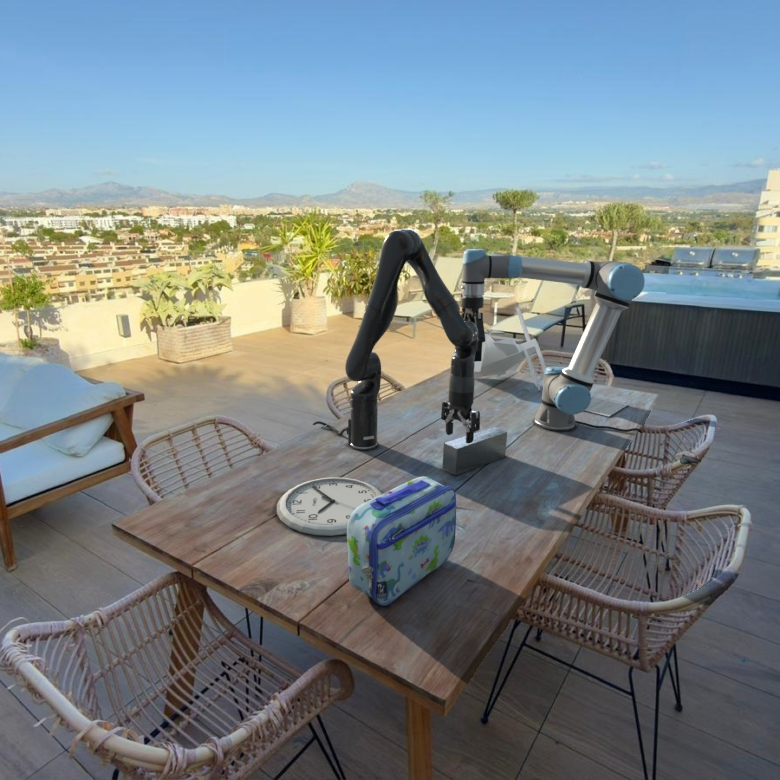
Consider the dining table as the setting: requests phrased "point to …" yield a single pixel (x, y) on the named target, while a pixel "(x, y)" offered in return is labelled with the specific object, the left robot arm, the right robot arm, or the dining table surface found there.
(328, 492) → the wall clock
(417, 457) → the dining table surface
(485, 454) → the box
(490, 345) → the white plastic object
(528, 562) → the dining table surface
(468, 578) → the dining table surface
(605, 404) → the invitation card
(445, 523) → the lunch box
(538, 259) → the right robot arm
